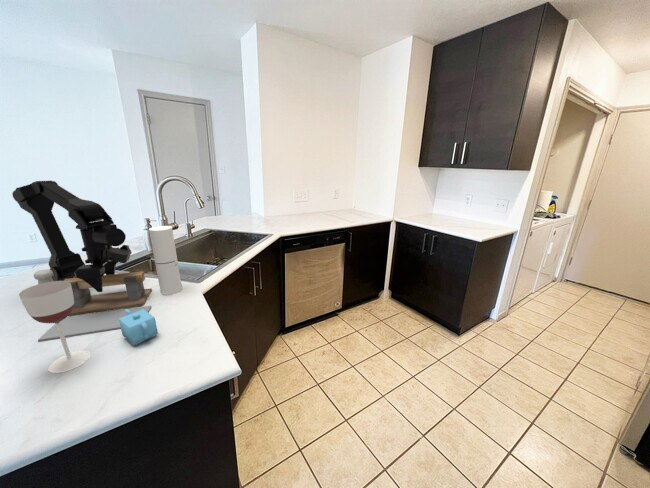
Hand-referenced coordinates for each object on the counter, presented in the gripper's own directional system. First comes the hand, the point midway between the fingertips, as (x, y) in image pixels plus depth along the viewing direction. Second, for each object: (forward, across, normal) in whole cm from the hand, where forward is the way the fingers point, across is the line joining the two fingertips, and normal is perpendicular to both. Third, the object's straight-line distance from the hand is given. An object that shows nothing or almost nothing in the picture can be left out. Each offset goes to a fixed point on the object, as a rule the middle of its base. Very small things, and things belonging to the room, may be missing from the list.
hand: (106, 285), depth 87 cm
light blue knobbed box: (+7, -24, -15) cm, 29 cm away
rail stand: (+7, 0, 0) cm, 7 cm away
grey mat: (+7, -13, -2) cm, 15 cm away
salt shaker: (+7, +3, +17) cm, 19 cm away
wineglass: (+7, -30, -2) cm, 31 cm away
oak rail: (0, 0, 0) cm, 0 cm away
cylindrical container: (+7, +4, -18) cm, 20 cm away
